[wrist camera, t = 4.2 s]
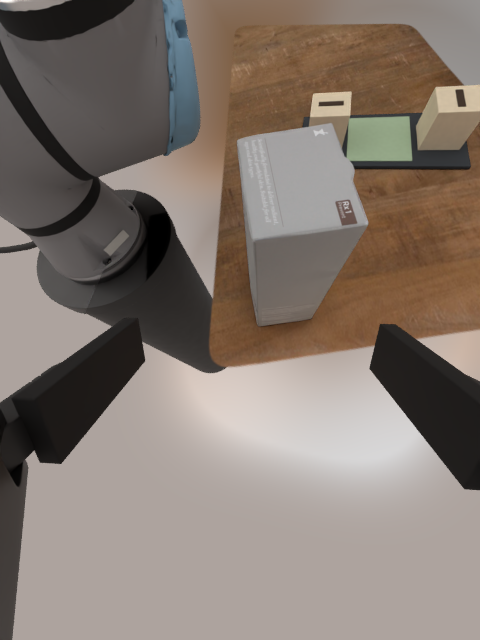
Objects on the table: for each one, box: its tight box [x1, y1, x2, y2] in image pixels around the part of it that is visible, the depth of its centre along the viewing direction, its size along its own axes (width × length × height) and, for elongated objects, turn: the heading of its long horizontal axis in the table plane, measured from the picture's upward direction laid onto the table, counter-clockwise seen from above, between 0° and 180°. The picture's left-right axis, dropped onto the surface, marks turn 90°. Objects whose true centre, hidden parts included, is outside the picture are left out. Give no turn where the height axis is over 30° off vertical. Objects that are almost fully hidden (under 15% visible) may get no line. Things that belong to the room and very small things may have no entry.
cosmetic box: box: [237, 123, 368, 326], centre depth 21 cm, size 8×7×16 cm
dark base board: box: [303, 85, 480, 169], centre depth 32 cm, size 22×11×5 cm, turn 79°
